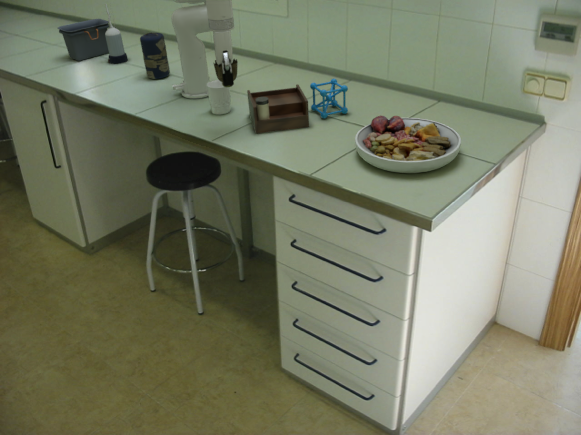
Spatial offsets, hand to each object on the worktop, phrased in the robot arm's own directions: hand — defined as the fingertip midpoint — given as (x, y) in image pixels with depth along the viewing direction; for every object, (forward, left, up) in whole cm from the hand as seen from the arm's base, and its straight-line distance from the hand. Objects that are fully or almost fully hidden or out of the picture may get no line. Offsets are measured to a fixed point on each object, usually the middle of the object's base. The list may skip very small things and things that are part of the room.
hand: (227, 80), depth 187 cm
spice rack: (+16, +2, -17) cm, 23 cm away
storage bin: (-55, +104, -17) cm, 119 cm away
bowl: (+48, -33, -17) cm, 60 cm away
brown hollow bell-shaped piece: (0, 0, -2) cm, 2 cm away
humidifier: (-42, +91, -17) cm, 102 cm away
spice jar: (+10, -2, -14) cm, 17 cm away
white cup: (-2, +17, -17) cm, 24 cm away
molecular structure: (+34, +4, -17) cm, 38 cm away
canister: (-24, +63, -17) cm, 70 cm away
